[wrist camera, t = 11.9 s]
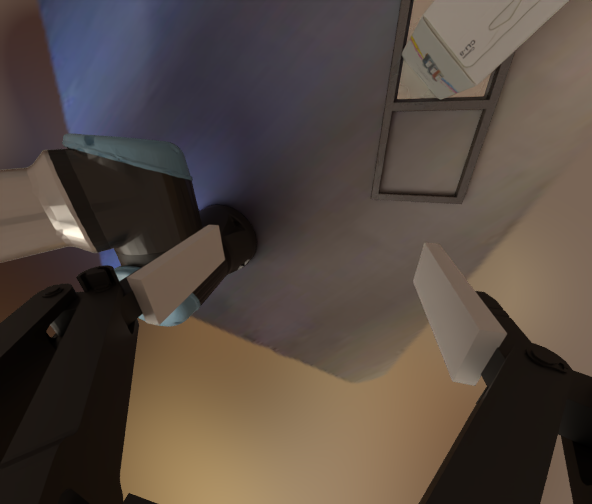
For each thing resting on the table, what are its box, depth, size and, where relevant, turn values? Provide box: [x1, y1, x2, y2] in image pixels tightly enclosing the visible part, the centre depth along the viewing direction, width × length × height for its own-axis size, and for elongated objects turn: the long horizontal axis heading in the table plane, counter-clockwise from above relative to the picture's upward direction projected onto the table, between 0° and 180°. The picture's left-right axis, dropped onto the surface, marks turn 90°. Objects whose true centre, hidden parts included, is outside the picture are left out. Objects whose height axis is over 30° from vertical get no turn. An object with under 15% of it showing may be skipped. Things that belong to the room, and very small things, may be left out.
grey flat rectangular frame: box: [371, 0, 515, 204], centre depth 32 cm, size 14×27×1 cm, turn 0°
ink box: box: [401, 0, 569, 100], centre depth 24 cm, size 9×9×12 cm
